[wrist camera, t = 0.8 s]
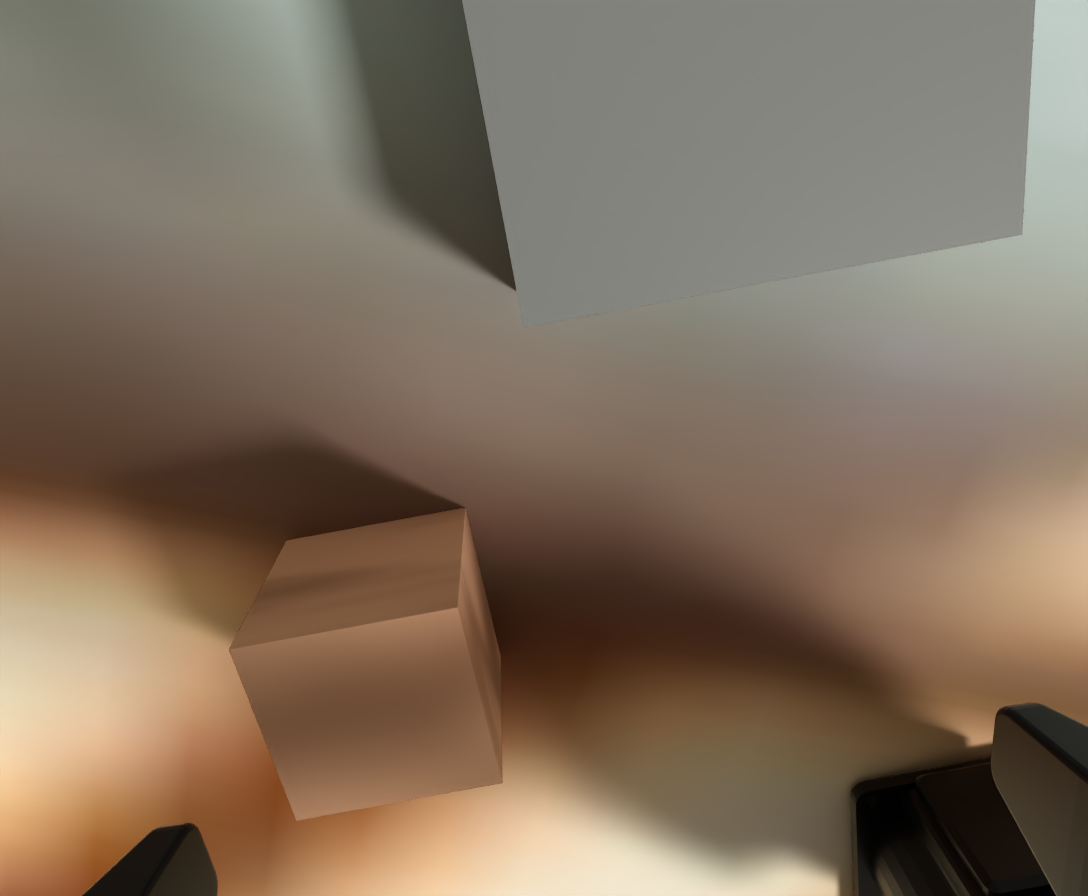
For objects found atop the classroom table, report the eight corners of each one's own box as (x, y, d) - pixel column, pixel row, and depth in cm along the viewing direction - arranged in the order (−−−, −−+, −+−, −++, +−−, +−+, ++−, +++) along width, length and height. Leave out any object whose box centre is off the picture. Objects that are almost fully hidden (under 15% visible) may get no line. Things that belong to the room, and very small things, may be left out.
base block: (918, 217, 19) (1022, 234, 15) (518, 292, 19) (523, 327, 15) (921, -301, 15) (1060, -447, 11) (424, -205, 15) (402, -319, 12)
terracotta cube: (500, 654, 23) (502, 782, 18) (336, 684, 23) (296, 820, 18) (465, 506, 21) (457, 607, 16) (287, 539, 21) (229, 649, 16)
